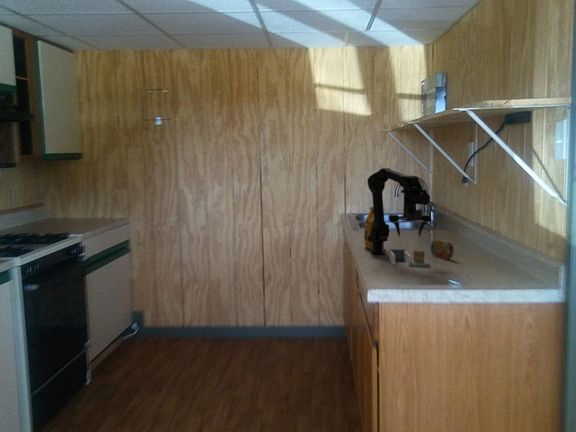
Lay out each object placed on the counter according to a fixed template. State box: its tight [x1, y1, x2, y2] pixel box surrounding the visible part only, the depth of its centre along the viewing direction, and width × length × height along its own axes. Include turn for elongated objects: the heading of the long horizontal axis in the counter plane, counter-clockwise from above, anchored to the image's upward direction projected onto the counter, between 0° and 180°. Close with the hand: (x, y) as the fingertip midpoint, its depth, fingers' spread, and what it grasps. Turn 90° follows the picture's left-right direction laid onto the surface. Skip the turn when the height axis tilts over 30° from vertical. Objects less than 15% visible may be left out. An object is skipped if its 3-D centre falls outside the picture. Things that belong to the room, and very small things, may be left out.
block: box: [413, 249, 425, 262], centre depth 256 cm, size 4×4×5 cm
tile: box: [410, 259, 431, 267], centre depth 255 cm, size 8×8×1 cm
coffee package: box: [363, 205, 385, 251], centre depth 294 cm, size 10×12×22 cm
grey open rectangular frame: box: [388, 248, 411, 266], centre depth 260 cm, size 13×8×5 cm, turn 178°
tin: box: [430, 239, 454, 260], centre depth 270 cm, size 15×3×8 cm, turn 21°
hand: (409, 236), depth 260 cm, fingers open, 9 cm apart
